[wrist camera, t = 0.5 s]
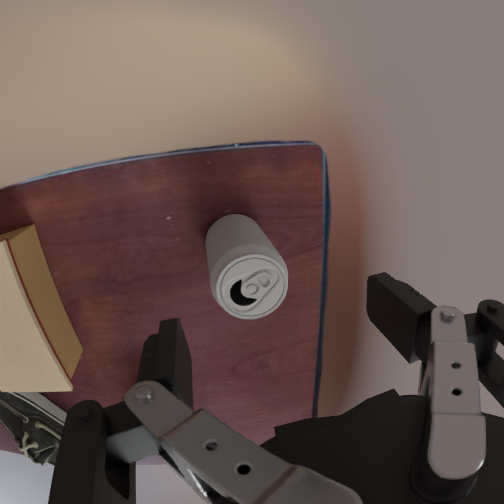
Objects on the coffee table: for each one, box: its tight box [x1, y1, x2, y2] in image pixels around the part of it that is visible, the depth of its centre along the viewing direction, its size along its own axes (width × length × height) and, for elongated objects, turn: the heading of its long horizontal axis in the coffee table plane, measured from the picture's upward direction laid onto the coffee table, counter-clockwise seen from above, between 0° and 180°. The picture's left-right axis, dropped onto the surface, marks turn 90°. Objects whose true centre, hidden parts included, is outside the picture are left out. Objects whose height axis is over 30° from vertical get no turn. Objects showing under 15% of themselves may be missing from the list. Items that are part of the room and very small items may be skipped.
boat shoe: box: [0, 390, 67, 466], centre depth 36 cm, size 11×31×10 cm, turn 50°
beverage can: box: [205, 214, 288, 319], centre depth 30 cm, size 6×6×12 cm
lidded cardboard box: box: [0, 224, 83, 392], centre depth 29 cm, size 19×13×8 cm
